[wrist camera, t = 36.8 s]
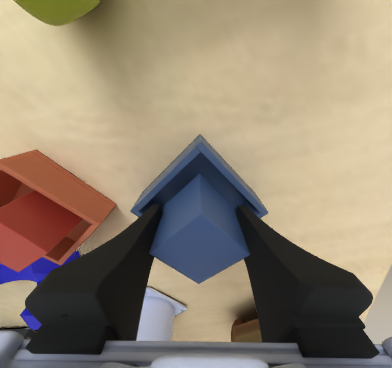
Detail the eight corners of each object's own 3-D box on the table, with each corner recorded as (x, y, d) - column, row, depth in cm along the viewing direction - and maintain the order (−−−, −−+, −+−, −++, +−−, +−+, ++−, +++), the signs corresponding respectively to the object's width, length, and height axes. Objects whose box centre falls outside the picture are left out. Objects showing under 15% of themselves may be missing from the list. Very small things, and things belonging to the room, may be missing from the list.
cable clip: (78, 251, 19) (31, 308, 14) (84, 273, 21) (46, 330, 16) (-26, 239, 18) (-119, 295, 13) (-9, 263, 20) (-83, 320, 15)
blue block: (198, 230, 15) (198, 284, 10) (164, 204, 13) (148, 253, 9) (232, 204, 13) (250, 255, 9) (199, 173, 12) (200, 213, 7)
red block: (91, 210, 15) (48, 253, 11) (66, 228, 16) (18, 273, 12) (53, 180, 14) (-15, 214, 9) (29, 201, 15) (-43, 241, 10)
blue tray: (198, 235, 18) (198, 258, 15) (141, 192, 15) (129, 211, 12) (256, 194, 15) (268, 213, 12) (200, 134, 12) (200, 141, 10)
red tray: (80, 242, 18) (60, 266, 16) (7, 203, 16) (-32, 222, 13) (116, 204, 16) (100, 224, 13) (36, 149, 13) (-6, 160, 10)
